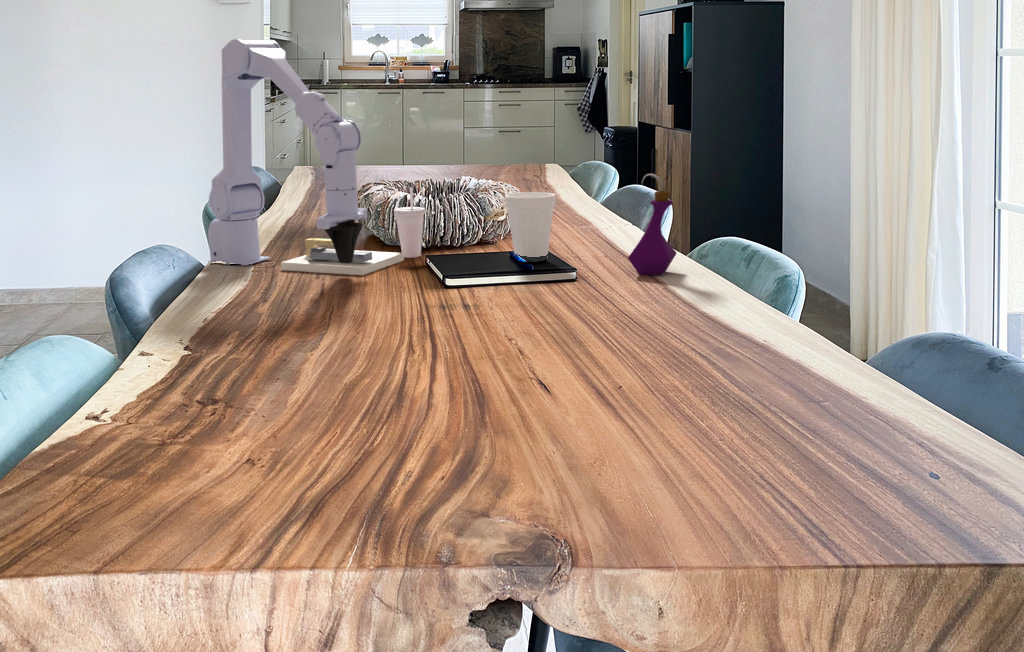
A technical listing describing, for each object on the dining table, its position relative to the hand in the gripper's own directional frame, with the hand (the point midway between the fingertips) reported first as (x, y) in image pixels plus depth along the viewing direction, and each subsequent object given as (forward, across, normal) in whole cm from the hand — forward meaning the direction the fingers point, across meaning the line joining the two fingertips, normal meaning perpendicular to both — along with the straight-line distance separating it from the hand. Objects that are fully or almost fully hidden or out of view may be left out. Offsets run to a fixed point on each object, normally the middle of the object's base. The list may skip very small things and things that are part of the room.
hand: (345, 262), depth 187 cm
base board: (+2, +9, +6) cm, 11 cm away
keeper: (+1, +9, +11) cm, 14 cm away
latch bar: (0, +5, +4) cm, 6 cm away
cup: (+3, +22, -28) cm, 36 cm away
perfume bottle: (+3, +17, -54) cm, 57 cm away
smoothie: (+3, +22, -2) cm, 22 cm away
